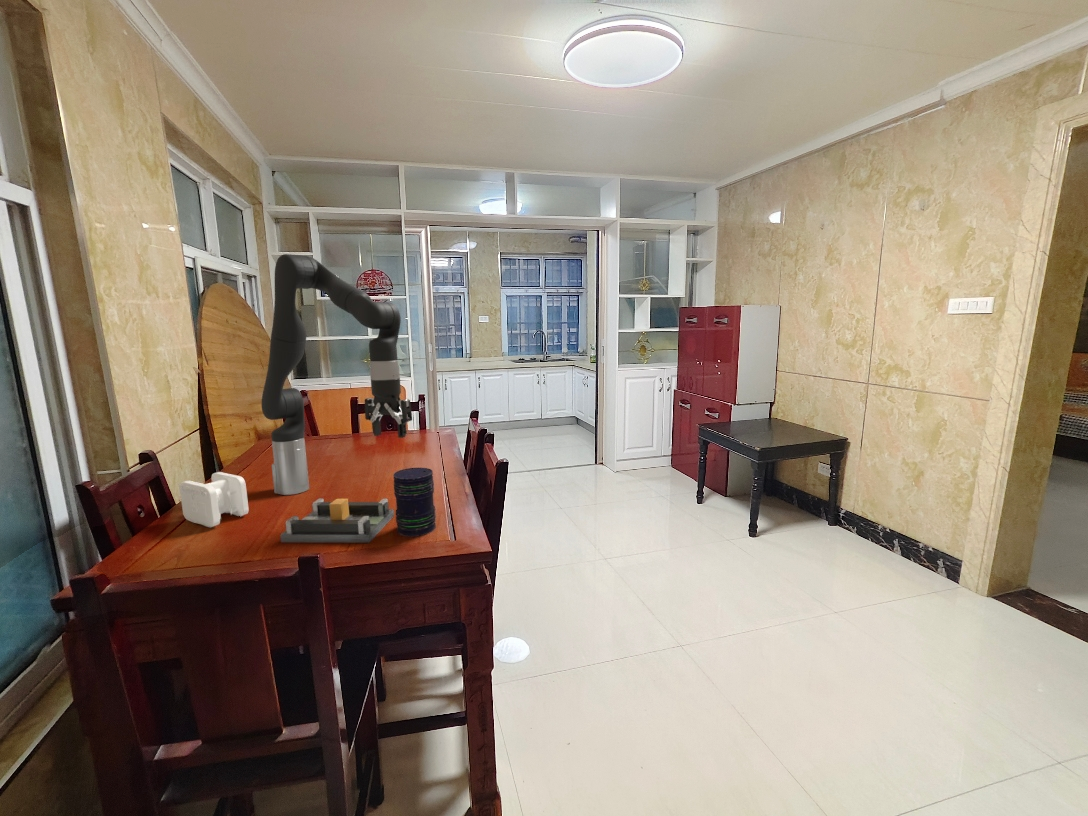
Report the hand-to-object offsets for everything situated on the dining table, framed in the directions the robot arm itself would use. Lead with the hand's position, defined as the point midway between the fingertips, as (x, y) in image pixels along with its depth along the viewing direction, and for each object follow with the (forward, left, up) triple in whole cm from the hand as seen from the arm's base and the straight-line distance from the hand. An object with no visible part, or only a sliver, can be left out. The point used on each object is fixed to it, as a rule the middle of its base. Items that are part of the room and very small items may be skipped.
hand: (389, 436), depth 133 cm
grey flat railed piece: (-10, -11, -22) cm, 27 cm away
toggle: (-10, -11, -20) cm, 25 cm away
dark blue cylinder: (+10, -11, -22) cm, 27 cm away
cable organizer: (-48, -5, -22) cm, 54 cm away
